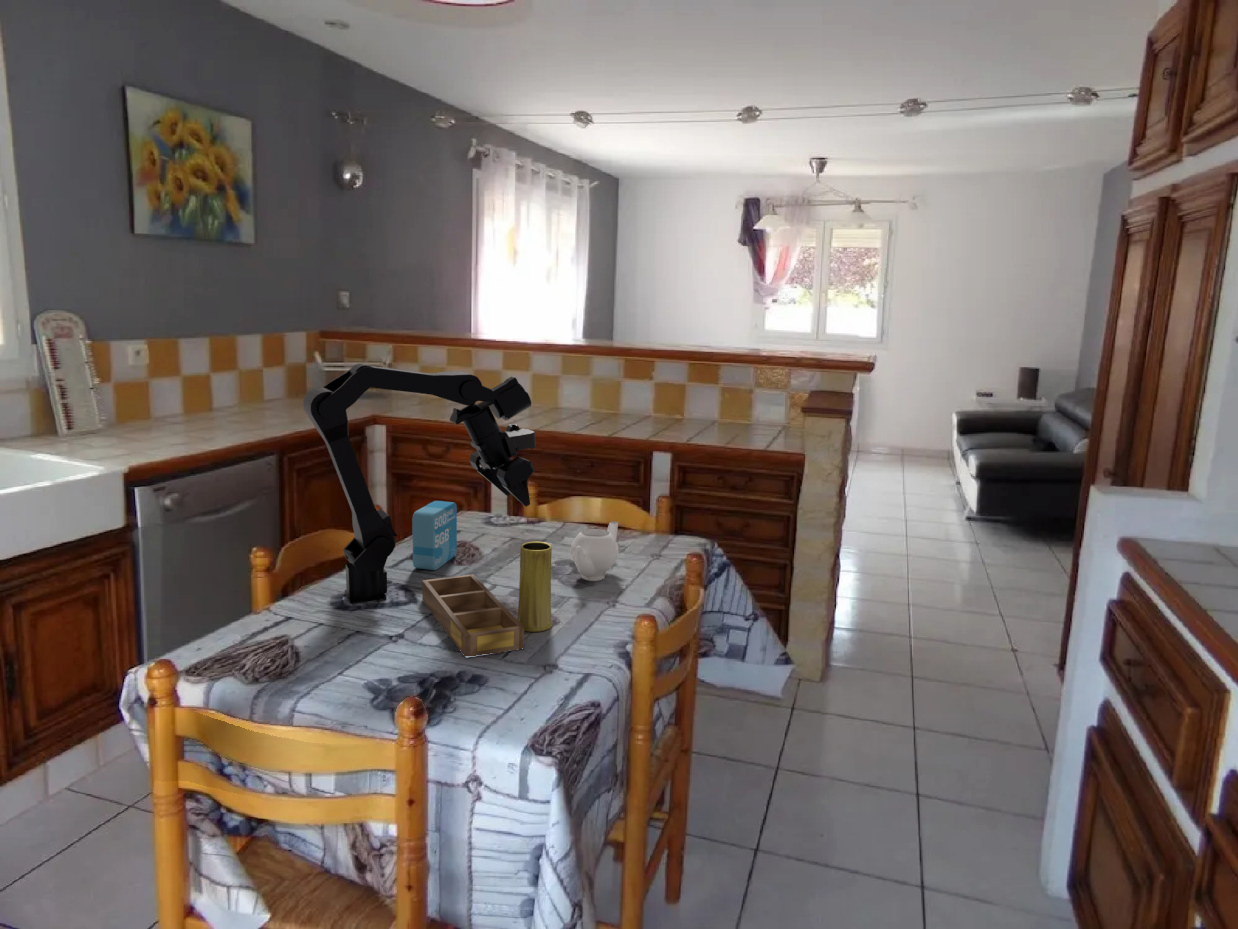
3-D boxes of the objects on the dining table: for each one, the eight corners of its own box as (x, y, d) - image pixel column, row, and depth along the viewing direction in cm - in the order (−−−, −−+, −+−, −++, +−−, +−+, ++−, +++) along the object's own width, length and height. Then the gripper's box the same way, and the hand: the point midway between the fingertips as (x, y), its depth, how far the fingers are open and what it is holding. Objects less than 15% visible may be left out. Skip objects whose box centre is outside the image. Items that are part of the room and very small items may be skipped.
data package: (433, 572, 173) (432, 514, 171) (412, 570, 174) (411, 512, 172) (457, 555, 185) (457, 500, 182) (437, 553, 186) (437, 498, 183)
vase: (534, 616, 153) (536, 538, 150) (559, 625, 149) (561, 546, 146) (509, 625, 148) (510, 545, 145) (534, 635, 145) (536, 553, 142)
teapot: (549, 588, 167) (550, 541, 165) (593, 559, 185) (595, 518, 183) (593, 596, 163) (595, 549, 161) (634, 567, 181) (636, 524, 179)
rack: (464, 659, 134) (464, 636, 134) (421, 600, 158) (421, 580, 158) (524, 649, 139) (524, 627, 138) (473, 593, 163) (473, 574, 162)
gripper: (540, 419, 160) (572, 489, 166) (501, 405, 175) (531, 469, 182) (490, 449, 156) (524, 519, 162) (454, 432, 171) (487, 497, 178)
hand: (518, 499), depth 171 cm, fingers open, 9 cm apart
